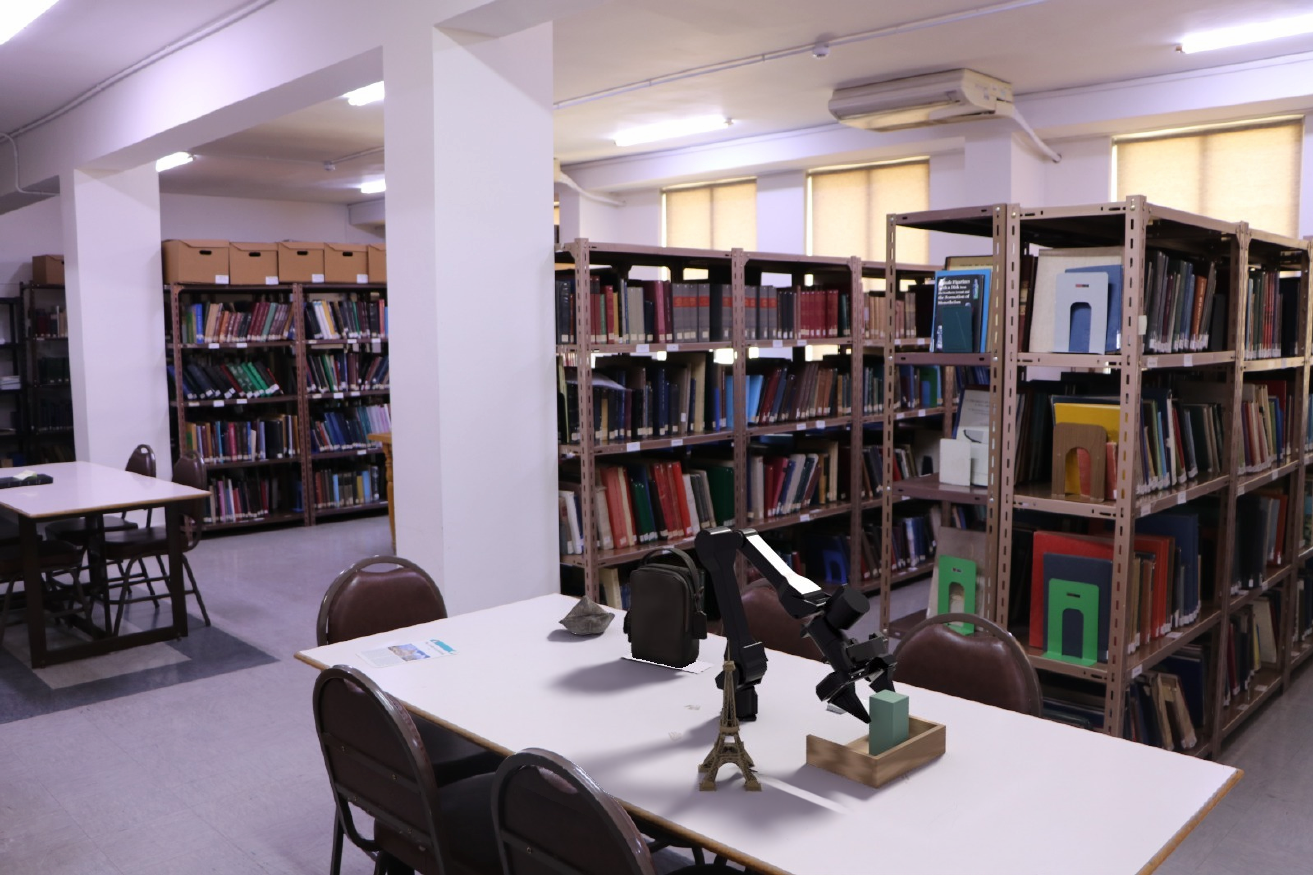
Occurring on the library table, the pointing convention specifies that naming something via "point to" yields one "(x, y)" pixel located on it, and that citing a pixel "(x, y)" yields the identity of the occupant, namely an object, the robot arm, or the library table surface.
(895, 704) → the green block
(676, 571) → the shoulder bag
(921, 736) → the oak crate
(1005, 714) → the library table surface
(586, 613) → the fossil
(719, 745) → the eiffel tower
